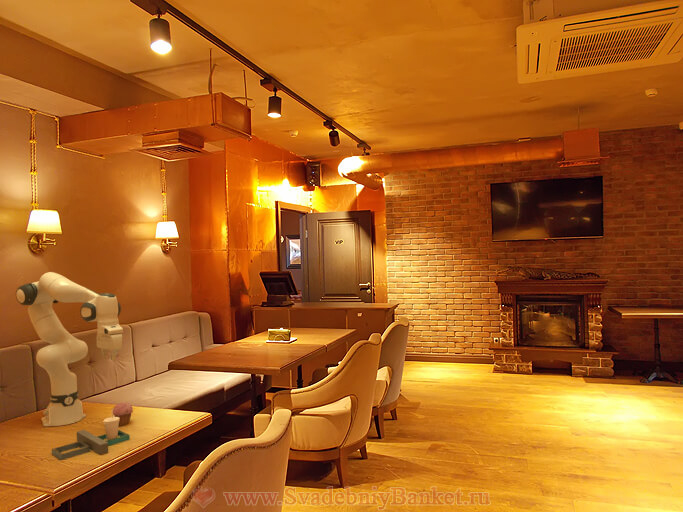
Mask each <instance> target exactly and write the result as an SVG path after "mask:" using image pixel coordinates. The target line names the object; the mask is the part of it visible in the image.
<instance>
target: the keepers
mask: <svg viewBox="0 0 683 512" xmlns="http://www.w3.org/2000/svg"><path fill="white" fill-rule="evenodd" d="M97 437H98V438H100V439H102V440H104V439H105V440H104V441H106V442H108V447H109V446H112V445H113V446H114V445H117V444H119V443H122V442H126V441H129V440H130V439H131V438H130V437H131V436H130V434H129V433H127V432H124V431H122V430H120V429H118V437H117V438H115V439H111V440H108V441H107V436H106V433H105V434H101V435H97ZM76 448H77V449H76ZM73 449H74V450H73ZM69 450H70V451H69ZM66 451H67V452H66ZM89 452H91V449H90V446H89V445H87V444H85V443H84V442H82V441H76V442H71V443H68V444H65V445H64V444H63V445H61V446H58V447H54V448H51V455H52V456H54V457H56V459H58V460H60V461H63V460H66V459H70V458H73V457H76V456H79V455H83V454H86V453H89Z"/></svg>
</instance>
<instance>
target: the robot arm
mask: <svg viewBox="0 0 683 512" xmlns="http://www.w3.org/2000/svg"><path fill="white" fill-rule="evenodd" d="M15 298H16V301H17V302H18V303H19V304H20V305H22V306H28V308H27V313H28V316H29V319H30V322H31V324H32V326H33V328H34V330H35V333H36V334H37V336H38V338H39V339H40V340H42V341H43V342H45V343H49V345H46V346H44V347H41V348H40V349H39V350H38V351H37V352H36V355H35V359H36V362H37V365H38V366H39V367H41V368H43V370H45V371H46V372H47V374H48V377H49V380H50V389H51V394H50V397H49V402H50V403H49V404H48V405H47V407H46V409H45V410H43V411H42V413H43V416H44V417H41V423H42V426H43V427H45V428H46V427H58V426H65V425H66V426H67V425H70V424H74V423H77V422H80V421H82V419H84V418H86V417H87V414H86V413H84V411H83V402H82V400H80V399H79V396H80V395H79V390H78V378H77V375H76V373H74V372H73V371H70V368H69V367H68V364H69V365H70V364H72V363H75V362H79V361H81V360H83V359H85V357H86V356H87V355H88V353H89V348H88V345H87V343H86V342H85V341H84V340H81V339H78V338H76V337H75V336H73V335H72V334H71V333H70V332H69V331H68V330H67V329H66V328H65V327H64V325H63V323H62V322H61V321H60V319H59V317H58V316H57V314H56V312H55V310H54V308H53V304H58V303H59V302H60V303H82V305H81V307H80V310H79V312H80V316H81V318H82V320H83V321H85V322H89V323H90V322H91V323H92V322H97V323H96V325H97V333H96V347H97V348H99V349H100V352H101V354H102V358H103V359H108V357H109V355H108V352H107V351H110V353H111V356H110V360H111V361H116V360H117V355H118V351H122V349H123V333H124V328H123V327H122V326H121V325H120V322H119V321H120V320H119V318H118V317H119V316H120V314H121V312H122V305H121V303H120V302H119V301H118V298H117V295H116V294H114V293H110V292H109V293H108V292H102V293H99V292H96V291H94V290H92V289H90V288H88V287H85V286H82V285H80V284H78V283H76V282H74V281H72V280H70V279H68V278H67V277H66V276H64V275H61V274H59V273H57V272H54V271H49V272H45V273H44V274H42V275H41V276H40V278H39V279H38V281H35V282H29V283H25V284H22V285H20V286H18V287H17V289H16V291H15Z"/></svg>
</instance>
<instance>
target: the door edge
mask: <svg viewBox="0 0 683 512" xmlns="http://www.w3.org/2000/svg"><path fill="white" fill-rule="evenodd" d="M97 436H98V435H97ZM97 436H96V435H94V434H93V433H91V432H90V431H87V430H85V429H80V430H78V431H76V442H78V441H82V442H84V443H85V444H87V445H89V446H90V451H91V450H92V451H93V452H95V453H97V454H99V456H102V455H105V454H108V453H109V446H108V442H106V441H107V440H102V439H100V438H98V437H97Z"/></svg>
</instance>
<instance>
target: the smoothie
mask: <svg viewBox="0 0 683 512" xmlns="http://www.w3.org/2000/svg"><path fill="white" fill-rule="evenodd" d="M119 421H120V418H119V417H115V416H114V415H113V408H111V416H110V417H107V418H104V420H103V422H102V423H103V424H104V430H105V434H106V436H107V439H106V441H108V440H111V439H115V438H118V437H119V436H118V430H119V426H120V425H119Z"/></svg>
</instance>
